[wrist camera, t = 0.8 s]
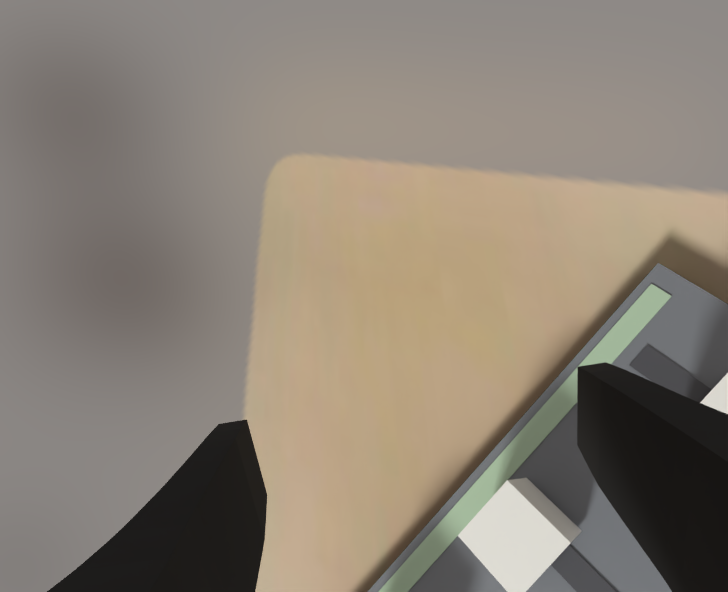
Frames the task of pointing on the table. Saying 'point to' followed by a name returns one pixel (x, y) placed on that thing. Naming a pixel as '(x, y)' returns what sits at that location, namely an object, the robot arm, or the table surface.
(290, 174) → the table surface
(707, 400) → the switch
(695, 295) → the panel
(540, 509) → the switch middle
